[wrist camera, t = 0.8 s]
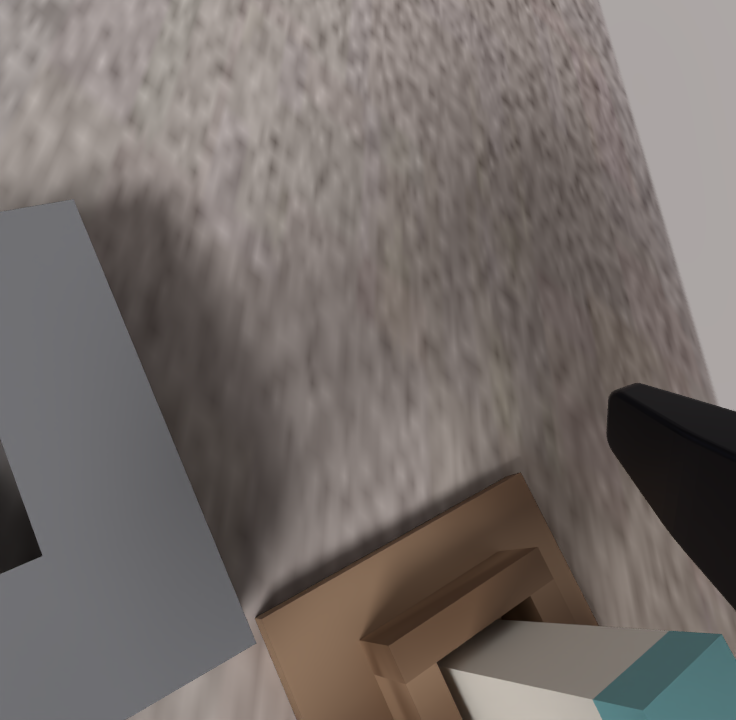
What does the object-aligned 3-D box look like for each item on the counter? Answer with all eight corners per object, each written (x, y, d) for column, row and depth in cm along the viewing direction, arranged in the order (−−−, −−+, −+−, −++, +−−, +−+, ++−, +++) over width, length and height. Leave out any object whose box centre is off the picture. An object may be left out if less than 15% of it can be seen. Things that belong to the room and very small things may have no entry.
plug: (536, 724, 22) (816, 809, 13) (475, 776, 20) (744, 910, 12) (485, 618, 23) (721, 634, 14) (423, 662, 21) (642, 710, 12)
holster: (645, 750, 24) (722, 773, 21) (409, 991, 19) (468, 1069, 16) (507, 476, 26) (559, 461, 23) (254, 618, 20) (280, 622, 17)
